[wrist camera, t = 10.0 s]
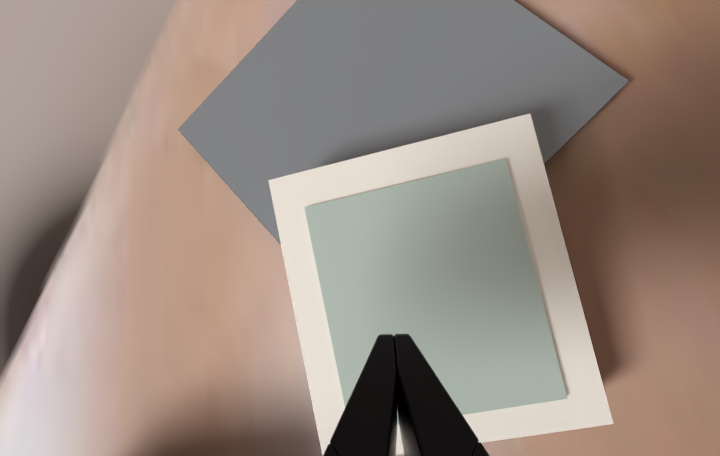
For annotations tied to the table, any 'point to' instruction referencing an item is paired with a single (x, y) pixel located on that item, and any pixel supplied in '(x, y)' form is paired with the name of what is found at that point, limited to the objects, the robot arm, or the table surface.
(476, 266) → the picture frame
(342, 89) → the mat
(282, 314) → the table surface
